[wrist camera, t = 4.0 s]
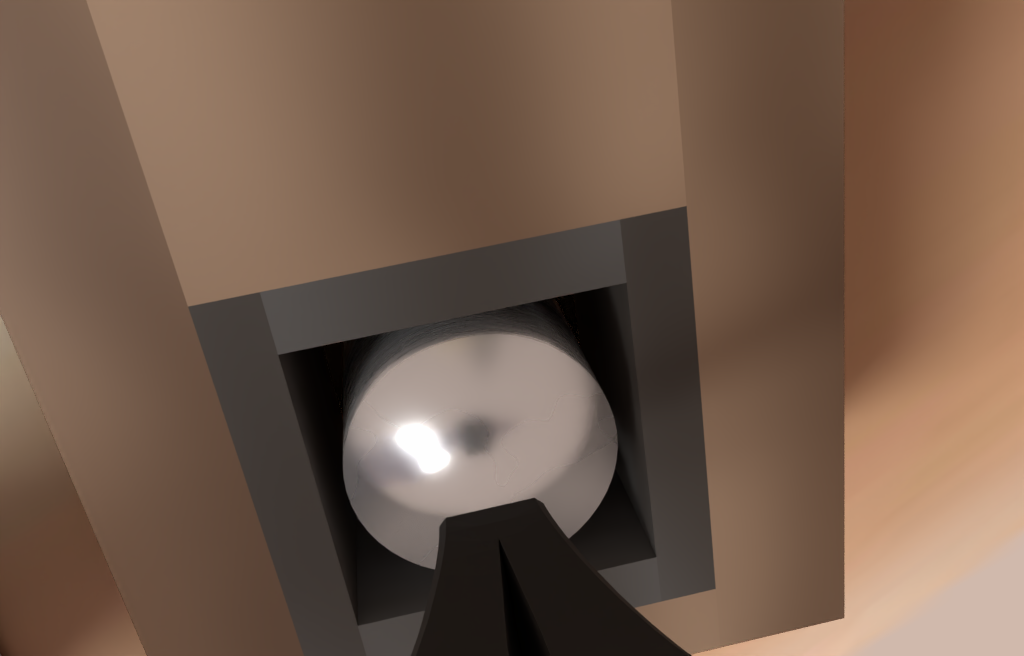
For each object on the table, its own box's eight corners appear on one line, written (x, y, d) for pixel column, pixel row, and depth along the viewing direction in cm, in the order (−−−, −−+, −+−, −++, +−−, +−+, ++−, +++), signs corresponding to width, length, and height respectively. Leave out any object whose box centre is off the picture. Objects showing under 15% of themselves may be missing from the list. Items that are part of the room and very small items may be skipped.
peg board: (227, 586, 21) (196, 772, 17) (-273, -792, 12) (-654, -1209, 7) (743, 470, 22) (844, 617, 18) (667, -895, 13) (844, -1323, 8)
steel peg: (369, 445, 20) (375, 598, 16) (320, 255, 19) (312, 370, 14) (569, 401, 21) (630, 540, 16) (541, 211, 19) (602, 309, 14)
